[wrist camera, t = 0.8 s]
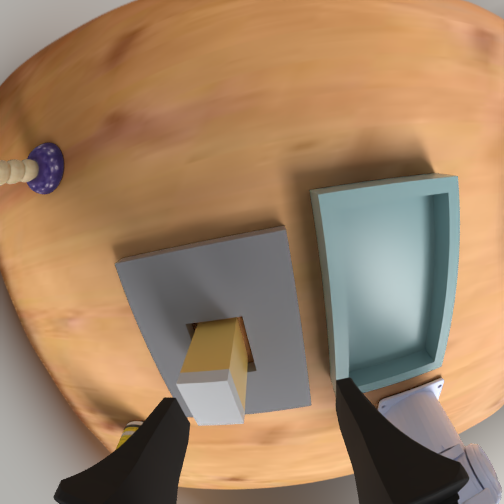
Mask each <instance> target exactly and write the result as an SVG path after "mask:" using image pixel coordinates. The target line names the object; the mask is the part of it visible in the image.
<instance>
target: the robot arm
mask: <svg viewBox="0 0 504 504" xmlns="http://www.w3.org/2000/svg"><path fill="white" fill-rule="evenodd" d="M443 383H444V379H443V378H439V379H437V380H434V381H432V382H430V383H427V384H424V385H422V386H419V387H417V388H414V389H411V390H408V391H405V392H403V393H400V394H397V395H394V396H391V397H387V398H384V399H382V400H380V402H379V405H378V410H377V409H376V408H375V407H374V406H373V405H372V403H371V402H370V401H369V400H368V399H367V398H366V397H365V395H364V394H363V393H362V392H361V391H360V389H359V388H358V387H357V385H356V384H355V383H354V381H353V380H352V378H350V377H348V378H344V379H339V380H336V412H337V417H338V422H339V426H340V430H341V433H342V436H343V439H344V442H345V445H346V448H347V451H348V454H349V457H350V460H351V463H352V467H353V470H354V475H355V480H356V486H357V491H358V497H359V504H499V501H500V500H501V493H502V488H501V485H500V483H499V481H498V478H497V475H496V472H495V470H494V468H493V466H492V464H491V462H490V460H489V458H488V457H487V455H486V454H485V452H484V451H483V449H482V448H481V447H480V446H479V445H478V444H472V443H471V444H469V445H468V446H467V447H466V446H464V444H463V443H462V441H461V439H460V437H459V435H458V433H457V432H456V430H455V428H454V426H453V425H452V423H451V421H450V419H449V418H448V416H447V414H446V412H445V411H444V409H443V407H442V406H441V404H440V402H439V401H438V398H439V395H440V392H441V389H442V386H443ZM189 430H190V423H189V421H188V419H187V417H186V415H185V414H184V412H183V410H182V408H181V406H180V404H179V403H178V401H177V399H176V398H164V399H163V400H162V401H161V402H160V403H159V404H158V406H157V407H156V408H155V409H154V410H153V412H152V413H151V414H150V415H149V416H148V418H147V419H146V420H145V421H144V422H143V423H142V425H141V426H140V427H139V428H138V429H137V430H136V431H135V432H134V433H133V434H132V435H131V436H130V437H129V438H128V439H127V440H126V441H125V442H124V443H123V444H122V445H121V446H120V447H119V448H118V449H116V450H115V451H114V452H113V453H111V454H110V455H109V456H107V457H106V458H105V459H103V460H102V461H100V462H99V463H97V464H95V465H94V466H92V467H90V468H88V469H87V470H85V471H83V472H81V473H78V474H76V475H74V476H71V477H69V478H66V479H63V480H61V482H60V484H59V486H58V488H57V490H56V492H55V495H54V499H55V500H56V501H57V502H58V503H59V504H176V501H177V489H178V483H179V477H180V473H181V469H182V465H183V461H184V457H185V453H186V449H187V445H188V440H189Z"/></svg>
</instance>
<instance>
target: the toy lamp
mask: <svg viewBox="0 0 504 504" xmlns="http://www.w3.org/2000/svg"><path fill="white" fill-rule="evenodd" d="M63 170H64V160H63V155H62V153H61V150H60V149H59V148H58V147H57V146H56V145H55V144H53V143H44V144H41V145H39V146H37V147H36V148H35V149H33V151H32V152H31V153H30V154H29V156H28V158H27V159H25V160H22V161H20V160H10V161H7V162H6V161H4V160H0V186H1V185H3V184H5V183H7V184H15V183H17V182H19V181H21V182H27V184H28V186H29V187H30V188H31V189H32V190H33V191H34V192H36V193H39V194H49V193H51V192H53V191H54V190H55V189H56V188H57V186H58V185H59V183H60V181H61V179H62V176H63Z"/></svg>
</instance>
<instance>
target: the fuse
mask: <svg viewBox="0 0 504 504" xmlns="http://www.w3.org/2000/svg"><path fill="white" fill-rule="evenodd" d="M247 368H248V354H247V351H246V347H245V343H244V340H243V336H242V332H241V329H240V325H239V321H238V318H237V317H234V318H227V319H220V320H213V321H205V322H198V324H197V327H196V330H195V333H194V335H193V338H192V341H191V344H190V346H189V349H188V352H187V355H186V357H185V360H184V363H183V366H182V369H181V371H180V374H179V377H178V380H177V383H176V385H177V387H178V389H179V391H180V393H181V395H182V397H183V399H184V400H185V402H186V404H187V406H188V408H189V410H190V412H191V413H192V415H193V417H194V419H195V420H196V422H197V424H198V425H227V424H243V423H244V415H245V399H246V384H247Z"/></svg>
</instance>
